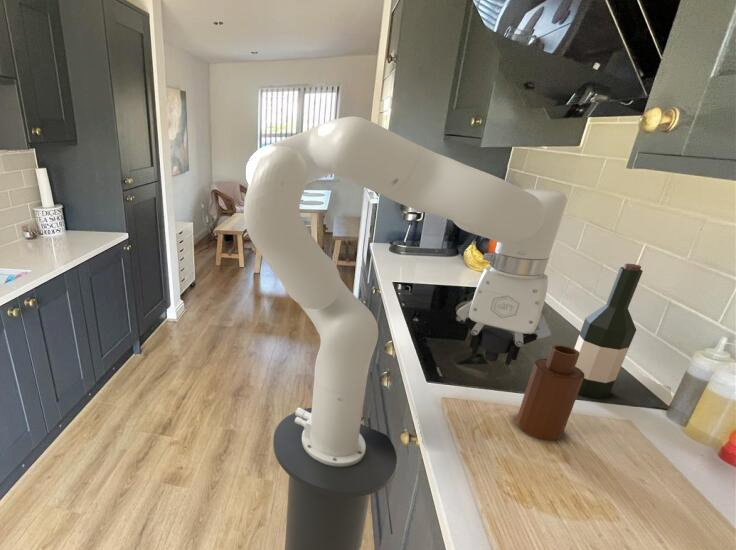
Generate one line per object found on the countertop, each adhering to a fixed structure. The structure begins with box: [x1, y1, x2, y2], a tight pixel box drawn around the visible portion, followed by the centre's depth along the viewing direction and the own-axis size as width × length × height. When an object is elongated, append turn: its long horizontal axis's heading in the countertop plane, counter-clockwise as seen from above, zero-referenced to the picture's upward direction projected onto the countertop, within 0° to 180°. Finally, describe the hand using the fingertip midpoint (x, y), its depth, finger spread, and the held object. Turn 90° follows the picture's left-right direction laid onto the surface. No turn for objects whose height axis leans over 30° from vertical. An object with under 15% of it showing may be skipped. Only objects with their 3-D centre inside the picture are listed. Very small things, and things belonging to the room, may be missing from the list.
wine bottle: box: [573, 263, 644, 399], centre depth 87 cm, size 8×8×30 cm
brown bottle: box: [515, 344, 584, 441], centre depth 77 cm, size 7×7×18 cm
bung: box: [479, 327, 515, 363], centre depth 74 cm, size 5×5×6 cm
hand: (491, 356), depth 75 cm, fingers closed on bung, 4 cm apart
